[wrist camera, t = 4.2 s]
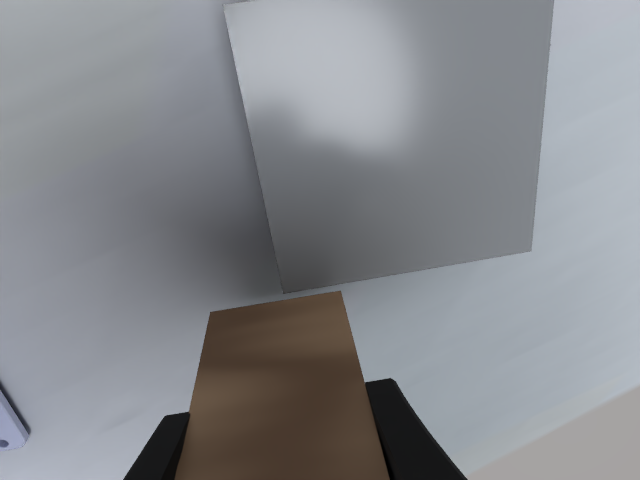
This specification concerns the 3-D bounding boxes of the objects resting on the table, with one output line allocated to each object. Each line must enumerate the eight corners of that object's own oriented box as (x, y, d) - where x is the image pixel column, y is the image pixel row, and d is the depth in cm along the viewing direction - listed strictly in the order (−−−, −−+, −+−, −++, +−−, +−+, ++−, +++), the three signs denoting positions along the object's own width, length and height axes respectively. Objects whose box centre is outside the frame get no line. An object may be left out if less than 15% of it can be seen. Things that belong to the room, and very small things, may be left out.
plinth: (282, 255, 18) (283, 293, 15) (232, 12, 14) (222, 4, 11) (492, 219, 18) (531, 251, 15) (502, -29, 14) (558, -47, 11)
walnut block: (238, 403, 15) (219, 622, 9) (210, 312, 13) (166, 518, 7) (352, 384, 15) (397, 588, 9) (340, 290, 13) (389, 479, 7)
